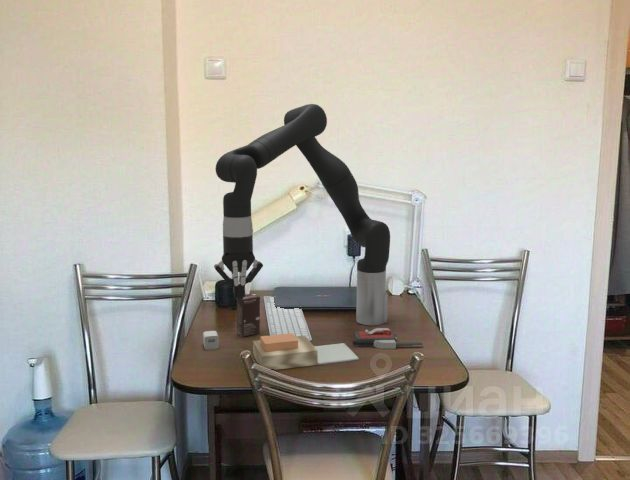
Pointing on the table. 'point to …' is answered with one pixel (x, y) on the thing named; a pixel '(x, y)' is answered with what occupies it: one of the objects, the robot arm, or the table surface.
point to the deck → (287, 355)
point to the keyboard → (285, 320)
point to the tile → (279, 342)
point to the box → (248, 315)
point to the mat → (334, 353)
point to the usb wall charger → (210, 340)
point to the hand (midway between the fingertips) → (239, 298)
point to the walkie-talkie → (380, 339)
